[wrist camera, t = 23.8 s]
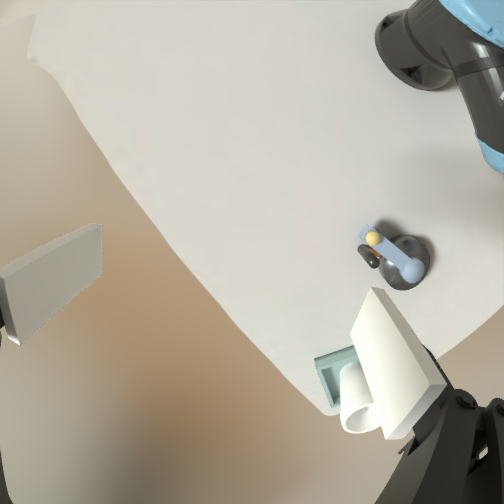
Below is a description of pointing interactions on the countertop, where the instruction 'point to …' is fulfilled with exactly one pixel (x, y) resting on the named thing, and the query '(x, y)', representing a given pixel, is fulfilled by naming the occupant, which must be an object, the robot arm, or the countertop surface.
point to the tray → (334, 371)
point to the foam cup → (356, 400)
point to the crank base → (391, 271)
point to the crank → (393, 254)
